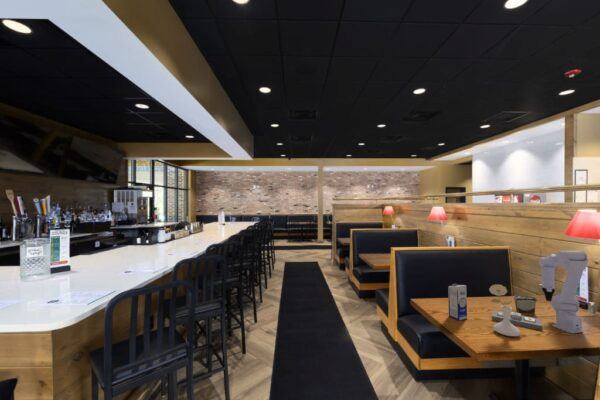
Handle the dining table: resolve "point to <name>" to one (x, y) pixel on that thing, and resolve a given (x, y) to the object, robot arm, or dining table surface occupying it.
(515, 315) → the grey key
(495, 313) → the keypad
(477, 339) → the dining table surface
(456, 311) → the milk carton
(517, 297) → the food container
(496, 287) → the flower in vase
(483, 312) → the dining table surface
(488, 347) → the dining table surface
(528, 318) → the cream key
